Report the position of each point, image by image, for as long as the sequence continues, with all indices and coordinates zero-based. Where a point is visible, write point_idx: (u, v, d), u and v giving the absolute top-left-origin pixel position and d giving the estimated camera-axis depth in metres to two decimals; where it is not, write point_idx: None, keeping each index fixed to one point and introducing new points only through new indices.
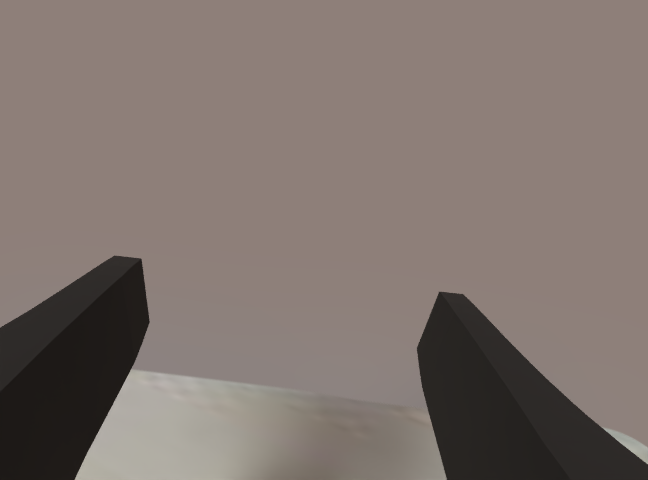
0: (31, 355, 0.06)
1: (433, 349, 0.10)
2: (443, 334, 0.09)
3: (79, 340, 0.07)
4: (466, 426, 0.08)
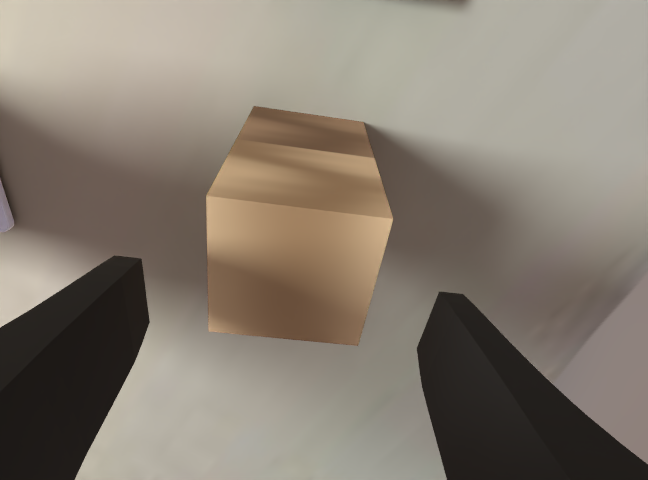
0: (31, 355, 0.06)
1: (433, 349, 0.10)
2: (443, 334, 0.09)
3: (79, 340, 0.07)
4: (466, 426, 0.08)
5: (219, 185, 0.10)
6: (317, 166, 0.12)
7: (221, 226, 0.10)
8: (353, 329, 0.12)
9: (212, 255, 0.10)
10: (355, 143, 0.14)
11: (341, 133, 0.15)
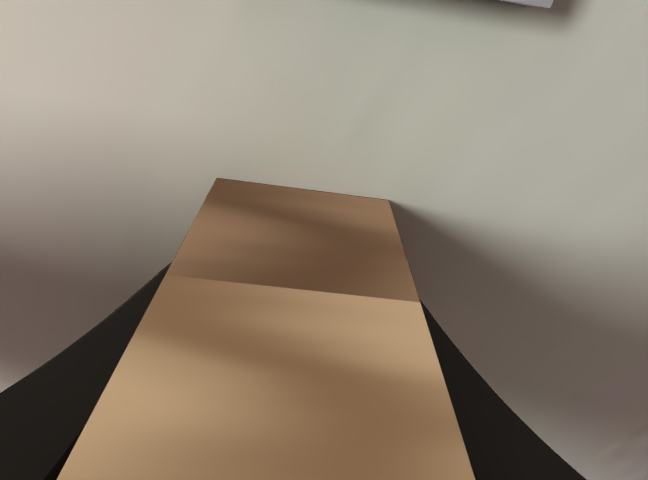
0: None
1: None
2: None
3: None
4: None
5: None
6: (316, 350, 0.06)
7: None
8: None
9: None
10: (382, 259, 0.08)
11: (355, 234, 0.09)
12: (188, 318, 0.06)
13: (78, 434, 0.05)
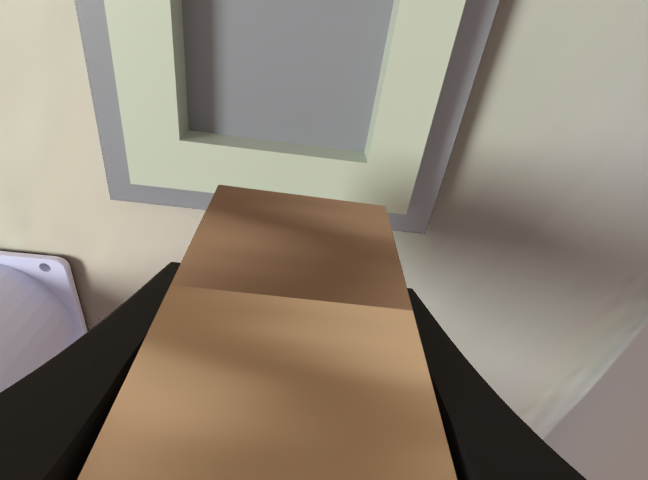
0: (119, 363, 0.06)
1: None
2: None
3: None
4: None
5: None
6: (313, 359, 0.06)
7: None
8: None
9: None
10: (377, 267, 0.08)
11: (352, 241, 0.09)
12: (192, 328, 0.06)
13: (77, 434, 0.05)
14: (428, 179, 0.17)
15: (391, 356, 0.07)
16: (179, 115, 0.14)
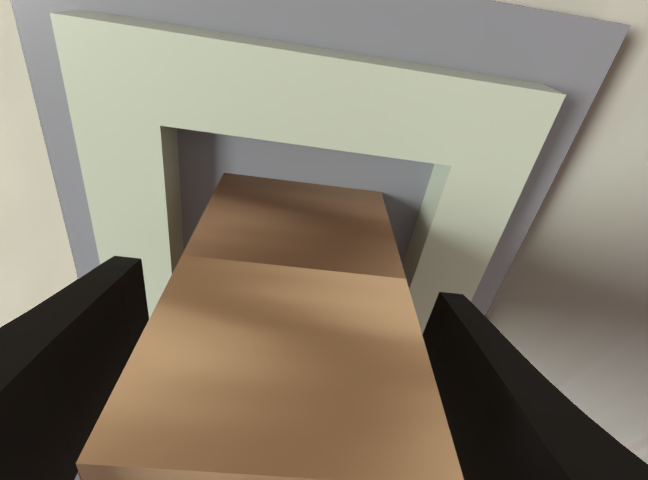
0: (31, 355, 0.06)
1: (433, 349, 0.10)
2: (443, 334, 0.09)
3: (79, 340, 0.07)
4: (466, 426, 0.08)
5: (116, 413, 0.05)
6: (313, 316, 0.07)
7: None
8: None
9: None
10: (373, 243, 0.09)
11: (350, 222, 0.10)
12: (203, 290, 0.07)
13: None
14: None
15: (385, 315, 0.07)
16: None
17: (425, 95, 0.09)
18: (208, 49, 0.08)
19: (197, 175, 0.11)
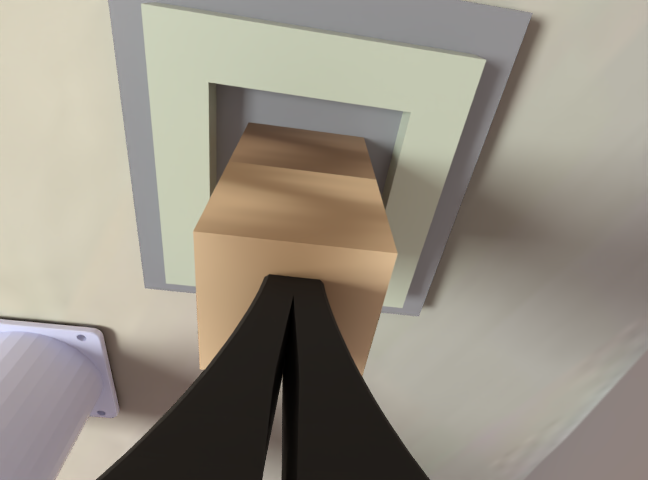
0: (268, 376, 0.06)
1: None
2: (290, 319, 0.09)
3: (279, 359, 0.07)
4: (289, 412, 0.08)
5: (208, 218, 0.09)
6: (315, 191, 0.11)
7: (210, 262, 0.09)
8: None
9: (201, 292, 0.09)
10: (355, 162, 0.13)
11: (340, 151, 0.14)
12: (245, 176, 0.11)
13: (266, 448, 0.05)
14: (421, 275, 0.19)
15: (360, 193, 0.11)
16: None
17: (390, 60, 0.13)
18: (244, 28, 0.12)
19: (229, 124, 0.15)
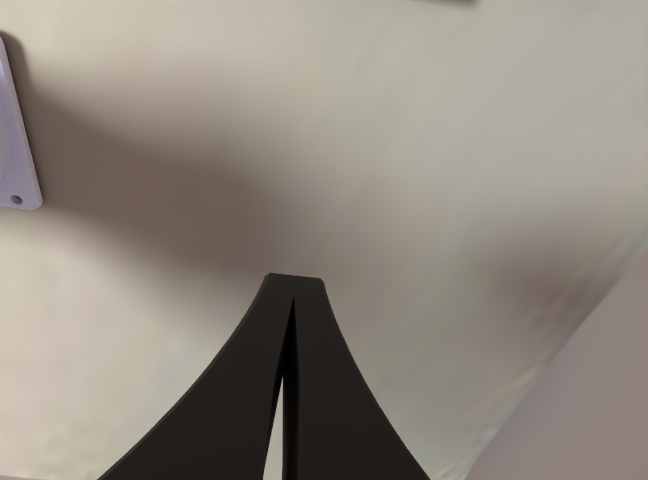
0: (268, 376, 0.06)
1: None
2: (290, 319, 0.09)
3: (280, 359, 0.07)
4: (289, 412, 0.08)
5: None
6: None
7: None
8: None
9: None
10: None
11: None
12: None
13: (266, 448, 0.05)
14: None
15: None
16: None
17: None
18: None
19: None
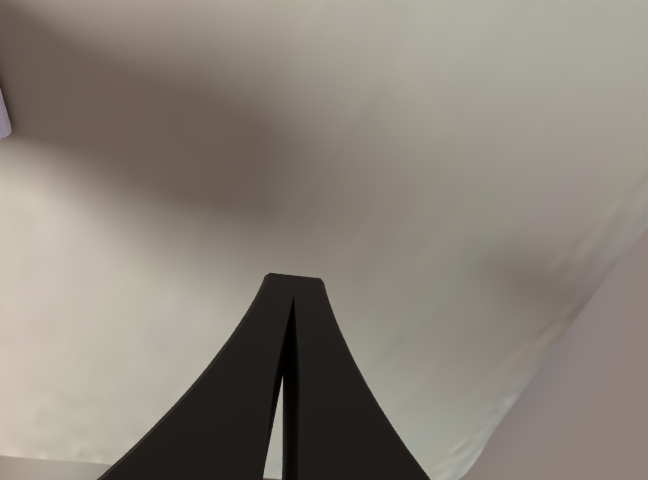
0: (268, 376, 0.06)
1: None
2: (290, 319, 0.09)
3: (280, 359, 0.07)
4: (289, 412, 0.08)
5: None
6: None
7: None
8: None
9: None
10: None
11: None
12: None
13: (266, 448, 0.05)
14: None
15: None
16: None
17: None
18: None
19: None
